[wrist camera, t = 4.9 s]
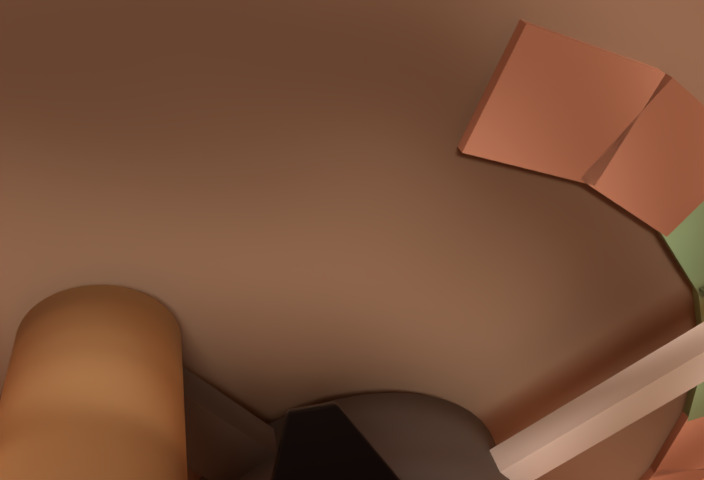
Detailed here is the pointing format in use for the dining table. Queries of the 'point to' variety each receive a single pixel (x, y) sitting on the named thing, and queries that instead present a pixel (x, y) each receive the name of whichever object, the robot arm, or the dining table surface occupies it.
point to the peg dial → (245, 428)
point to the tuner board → (373, 196)
